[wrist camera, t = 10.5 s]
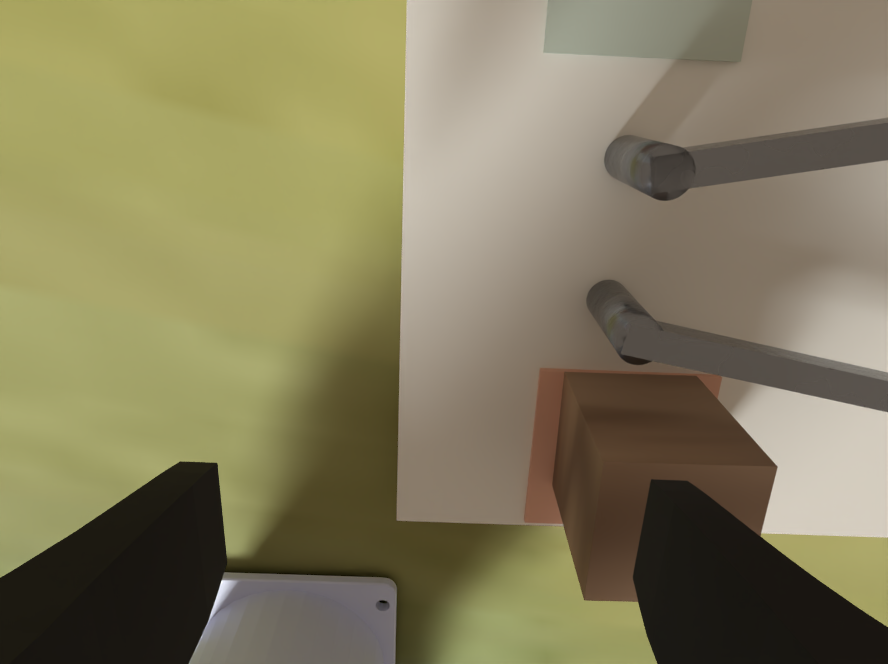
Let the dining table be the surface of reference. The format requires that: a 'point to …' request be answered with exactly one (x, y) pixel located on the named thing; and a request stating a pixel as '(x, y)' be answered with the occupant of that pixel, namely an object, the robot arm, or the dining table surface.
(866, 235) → the board
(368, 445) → the dining table surface
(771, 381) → the bent wire
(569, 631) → the dining table surface
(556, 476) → the walnut block
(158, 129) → the dining table surface
